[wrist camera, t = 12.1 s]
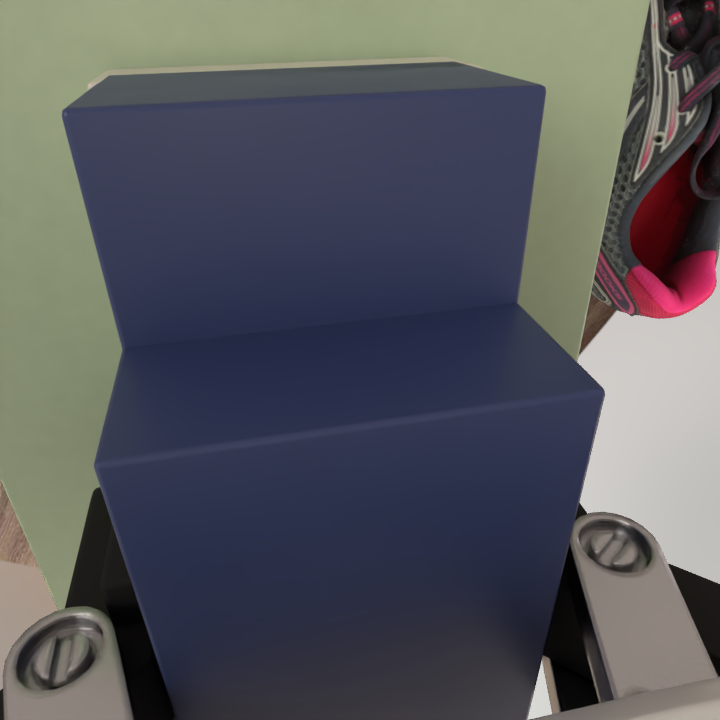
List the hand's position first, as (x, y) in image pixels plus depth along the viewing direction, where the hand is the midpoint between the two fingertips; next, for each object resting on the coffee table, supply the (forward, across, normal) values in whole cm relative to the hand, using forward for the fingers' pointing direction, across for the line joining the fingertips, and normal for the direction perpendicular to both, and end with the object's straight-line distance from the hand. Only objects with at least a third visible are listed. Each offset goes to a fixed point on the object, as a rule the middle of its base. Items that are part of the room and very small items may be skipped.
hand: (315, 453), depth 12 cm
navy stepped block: (+1, 0, -1) cm, 1 cm away
